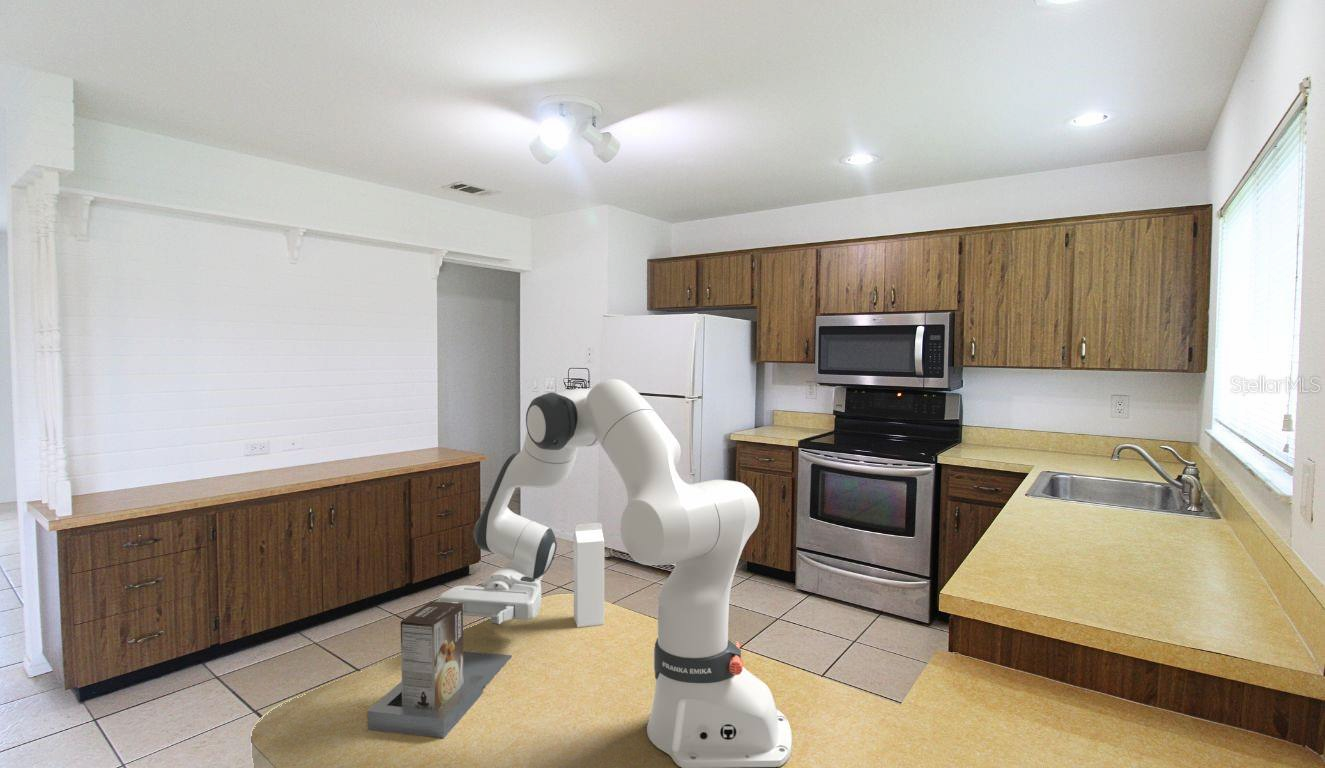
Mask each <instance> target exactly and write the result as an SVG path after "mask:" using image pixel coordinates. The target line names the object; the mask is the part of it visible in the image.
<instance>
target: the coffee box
mask: <svg viewBox="0 0 1325 768" xmlns="http://www.w3.org/2000/svg"><path fill="white" fill-rule="evenodd" d="M463 651H464V615H463V604H462V603H448V602H438V601H429V602H427V603H426V604H425V605H423V606H422V607H420V608H419V609H417V610H416V611H414V612H412V613H411V614H409V615H408V616H407V617H405V618H404V619H402V620H401V621H400V653H401V654H400V663H401V664H400V665H401V667H400V670H401V681H402V707H406V708H416V709H426V710H435V711H439V710H440V709H441V708H442V707H443V706H444V704H445V703H446V702H447V701H448V700H449V699H450V698H451V697H452V696H453V695H454V694H455V693H456V692H457V691H458V690H459V689H460V688H461V687H462V686H463V684H464V666H463V665H464V659H463Z"/></svg>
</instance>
